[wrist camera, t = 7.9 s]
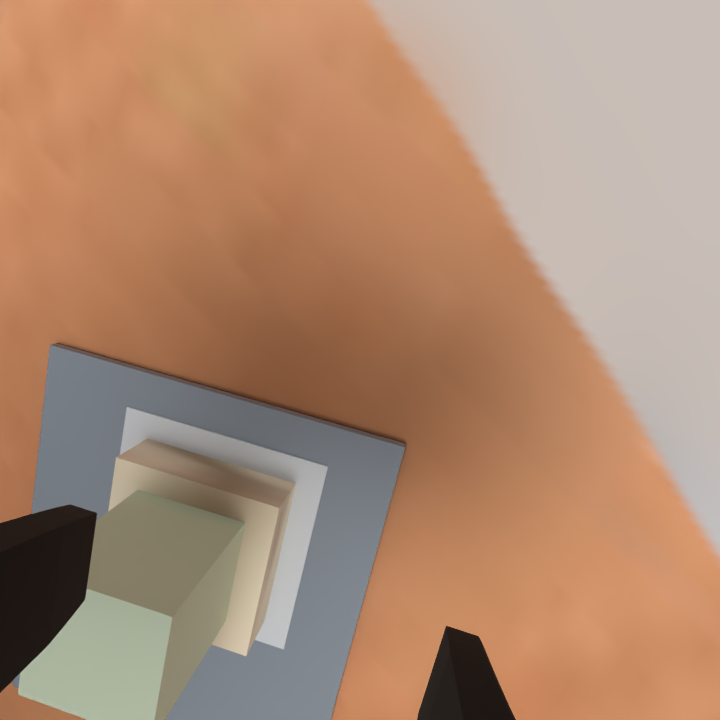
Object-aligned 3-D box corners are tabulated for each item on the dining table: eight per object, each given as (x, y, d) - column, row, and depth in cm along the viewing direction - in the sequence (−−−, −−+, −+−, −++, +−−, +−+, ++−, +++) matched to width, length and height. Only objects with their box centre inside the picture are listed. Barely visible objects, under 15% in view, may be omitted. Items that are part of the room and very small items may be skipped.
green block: (123, 587, 20) (17, 694, 15) (137, 489, 19) (30, 569, 14) (225, 621, 20) (150, 742, 15) (245, 522, 19) (172, 617, 14)
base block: (125, 573, 22) (94, 604, 21) (147, 438, 21) (116, 457, 19) (264, 620, 22) (246, 656, 20) (296, 483, 20) (279, 508, 18)
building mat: (19, 679, 25) (10, 687, 25) (57, 343, 22) (48, 345, 21) (312, 786, 24) (309, 797, 23) (406, 443, 20) (404, 448, 19)
